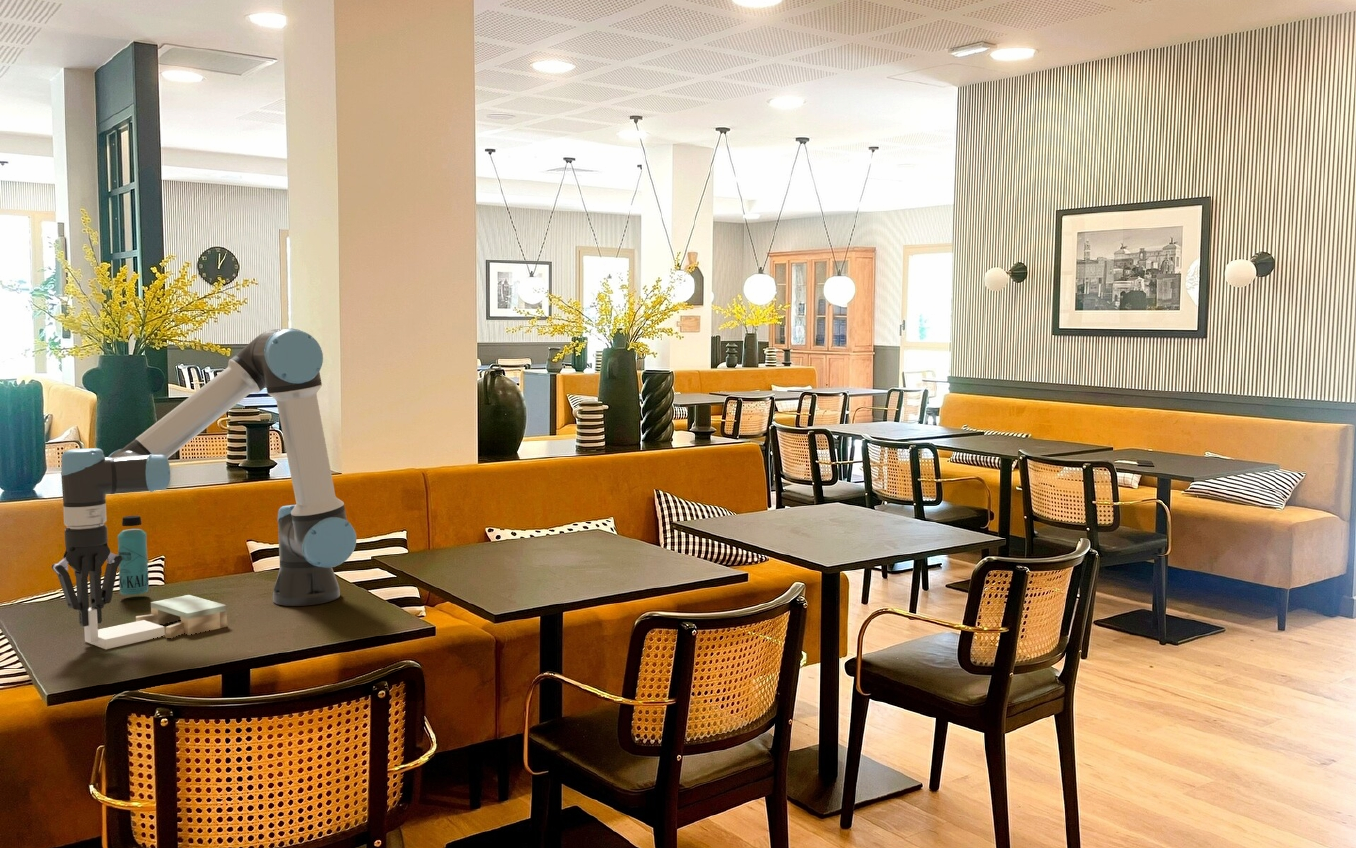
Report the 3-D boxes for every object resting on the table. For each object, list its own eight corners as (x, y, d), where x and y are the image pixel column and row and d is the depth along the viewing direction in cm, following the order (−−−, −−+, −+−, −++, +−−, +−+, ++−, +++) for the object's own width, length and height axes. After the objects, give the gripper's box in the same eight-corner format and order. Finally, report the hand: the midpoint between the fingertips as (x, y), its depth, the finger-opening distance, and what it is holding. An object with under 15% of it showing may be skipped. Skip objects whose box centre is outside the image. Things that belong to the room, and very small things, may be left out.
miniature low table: (169, 639, 220) (168, 617, 220) (133, 627, 230) (132, 605, 230) (227, 626, 230) (226, 605, 230) (189, 615, 240) (188, 594, 240)
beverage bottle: (126, 595, 259) (122, 514, 258) (154, 594, 260) (150, 513, 258) (114, 601, 253) (110, 518, 251) (143, 601, 253) (139, 518, 252)
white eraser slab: (105, 649, 213) (105, 639, 213) (85, 641, 219) (85, 632, 219) (164, 636, 223) (164, 626, 223) (144, 629, 228) (143, 620, 228)
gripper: (59, 532, 206) (65, 651, 208) (127, 523, 217) (133, 636, 218) (42, 528, 211) (49, 644, 213) (110, 519, 221) (115, 630, 223)
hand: (91, 640), depth 216 cm, fingers closed
